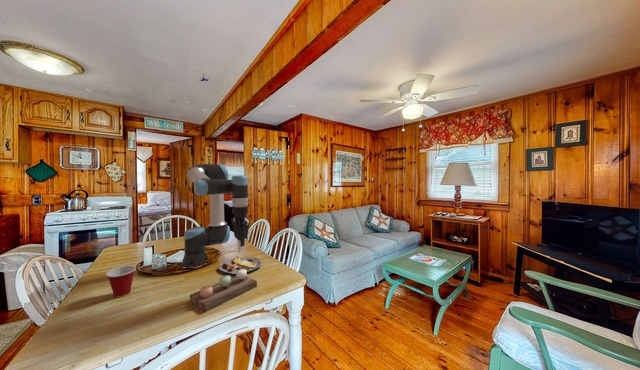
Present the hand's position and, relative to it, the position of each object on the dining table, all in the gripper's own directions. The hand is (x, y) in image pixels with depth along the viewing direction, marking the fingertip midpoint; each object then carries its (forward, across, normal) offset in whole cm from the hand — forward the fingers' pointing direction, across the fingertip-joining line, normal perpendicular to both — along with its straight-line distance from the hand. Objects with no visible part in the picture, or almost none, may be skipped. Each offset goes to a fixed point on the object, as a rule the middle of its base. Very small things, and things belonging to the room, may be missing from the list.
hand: (241, 252), depth 113 cm
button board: (+18, 0, -9) cm, 20 cm away
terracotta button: (+15, 0, -18) cm, 23 cm away
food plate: (+18, -21, +14) cm, 31 cm away
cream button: (+13, 0, 0) cm, 13 cm away
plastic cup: (+18, -40, -38) cm, 58 cm away
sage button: (+13, 0, -9) cm, 16 cm away
